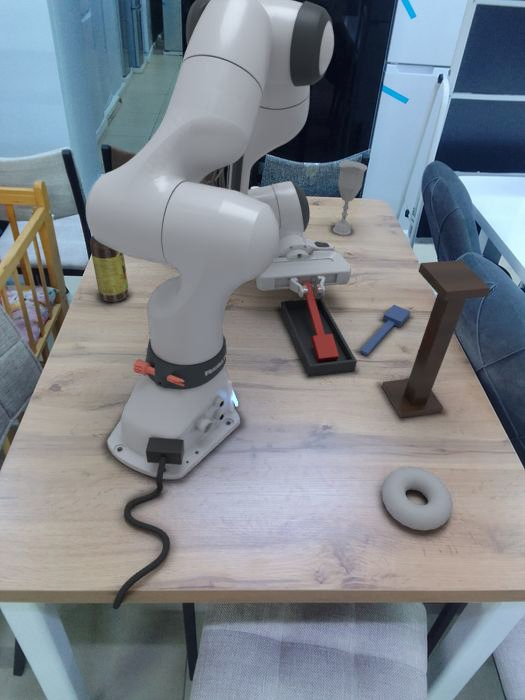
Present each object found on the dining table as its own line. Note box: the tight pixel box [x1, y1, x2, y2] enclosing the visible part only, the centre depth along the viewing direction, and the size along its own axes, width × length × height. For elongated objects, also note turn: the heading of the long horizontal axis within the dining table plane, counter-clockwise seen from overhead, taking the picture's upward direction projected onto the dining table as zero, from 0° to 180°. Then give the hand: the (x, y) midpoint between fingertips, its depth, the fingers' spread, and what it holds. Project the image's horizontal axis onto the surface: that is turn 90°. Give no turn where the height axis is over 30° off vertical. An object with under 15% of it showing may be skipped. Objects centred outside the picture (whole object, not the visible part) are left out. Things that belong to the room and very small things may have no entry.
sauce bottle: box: [89, 234, 129, 303], centre depth 104 cm, size 6×6×20 cm
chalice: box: [332, 160, 368, 236], centre depth 135 cm, size 7×7×18 cm
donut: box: [381, 466, 453, 531], centre depth 73 cm, size 10×3×10 cm
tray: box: [279, 297, 358, 377], centre depth 102 cm, size 21×9×2 cm, turn 13°
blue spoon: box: [359, 304, 411, 357], centre depth 105 cm, size 18×4×2 cm, turn 144°
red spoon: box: [302, 282, 339, 362], centre depth 100 cm, size 18×4×2 cm, turn 13°
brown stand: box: [381, 259, 491, 419], centre depth 83 cm, size 8×8×26 cm
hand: (313, 293), depth 101 cm, fingers closed
